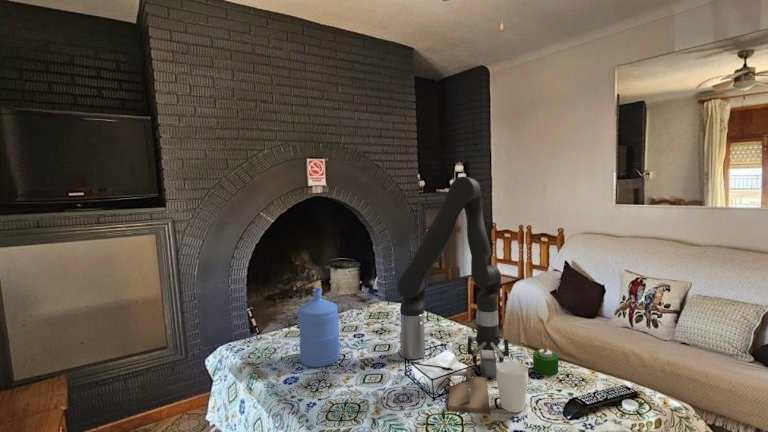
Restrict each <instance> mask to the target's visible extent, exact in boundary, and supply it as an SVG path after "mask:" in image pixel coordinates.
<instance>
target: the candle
mask: <svg viewBox="0 0 768 432" xmlns="http://www.w3.org/2000/svg"><path fill="white" fill-rule="evenodd" d="M548 345H549V344H548V343H547V342H544V343H543V345H542V346H543V348H541V349H538V350H536V351H535V350H534V351H533V353H532V370H533V371H534V372H535V373H536V374H539V375H541V376H547V377H549V376H550V377H551V376H556V375H558V374H559V355H558V354H557V353H556V352H553V351H551V350H550V349H548V348H549V346H548Z"/></svg>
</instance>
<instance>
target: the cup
mask: <svg viewBox="0 0 768 432" xmlns="http://www.w3.org/2000/svg"><path fill="white" fill-rule="evenodd" d="M528 370H529V369H528V367H527V366H526V365H525V364H523V363H522V362H521V363H520V362H518V361H517V362H516V361H511V360H510V361H509V360H505V361H504V362H501V363H499V362H498V364H496V382H497V388H498V394H499V400H500V406H501V408H502V409H503V410H504V411H507V412H510V413H516V414H517V413H520V412H523V411H524V410H525V404H526V399H527V393H528V392H527V391H528V385H529V372H528Z"/></svg>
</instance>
